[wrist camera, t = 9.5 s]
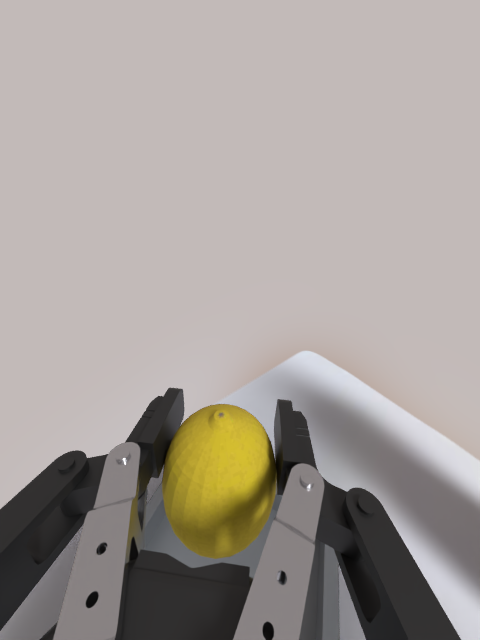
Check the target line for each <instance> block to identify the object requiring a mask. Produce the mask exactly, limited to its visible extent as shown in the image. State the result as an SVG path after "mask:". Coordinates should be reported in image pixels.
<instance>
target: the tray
mask: <svg viewBox="0 0 480 640" xmlns="http://www.w3.org/2000/svg"><path fill="white" fill-rule="evenodd" d="M282 496H283V495H277V483H276V494H275V499H274V502H273V506H272V509H271V512H270V515H269V518H268V520H267V522H266V524H265V525H264V527H263V529H262V530H261V532H260V534H259V535H258V537H257V538H256V539H255V540H254V541H253V542H252V543H251V544H250V545H249V546H248V547H247V548H246V549H244V550H243V551H241V552H239V553H237V554H235V555H233V556H231V557H224V558H218V559H213V558H208V557H203V556H200V555H198V554H196V553H195V552H193V551H191V550H190V549H188V548H187V547H186V546H185V545H184V544H183V543H182V542H181V540H180V539H179V538H178V537H177V536H176V535H175V533H174V531H173V529H172V527H171V524H170V522H169V520H168V518H167V515H166V512H165V507H164V500H163V493H162V483H161V484H160V486H159V487H158V489H157V490H156V492H155V493H154V495H153V496H152V498H151V499H150V501H149V502H148V504H147V505H146V519H145V537H144V540H145V550H148V551H154V552H160V553H167V554H168V555H170V556H172V557H173V558H175V559H177V560H178V561H180V562H182V563H184V564H185V565H187V566H189V567H191V568H197V567H202V566H207V565H212V564H217V563H222V562H223V563H229V564H236V565H242V566H248V567H250V574H249V576H250V577H251V578H253V579H254V576H255V573H256V570H257V567H258V564H259V561H260V558H261V555H262V552H263V549H264V546H265V543H266V540H267V537H268V534H269V531H270V528H271V525H272V523H273V520H274V518H275V517H276V514H277V511H278V508H279V505H280V502H281V499H282ZM299 640H340V637H339V573H338V560H337V557H336V554H335V551H334V549H333V548H331V547H330V546H328V545H326V544H324V543H323V542H321V541H319V540H317V539H315V550H314V556H313V562H312V568H311V573H310V579H309V585H308V591H307V596H306V602H305V608H304V613H303V619H302V625H301V630H300V636H299Z"/></svg>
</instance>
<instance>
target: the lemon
mask: <svg viewBox="0 0 480 640" xmlns="http://www.w3.org/2000/svg"><path fill="white" fill-rule="evenodd" d="M162 493H163V500H164V507H165V512H166V515H167V518H168V520H169V522H170V524H171V527H172V529H173V531H174V533H175V535H176V536H177V537H178V538H179V539H180V540H181V542H182V543H183V544H184V545H185V546H186V547H187V548H188V549H190V550H191V551H193V552H195V553H196V554H198V555H200V556H203V557H208V558H213V559H218V558H224V557H231V556H233V555H235V554H237V553H239V552H241V551H243V550H244V549H246V548H247V547H248V546H249V545H250V544H251V543H252V542H253V541H254V540H255V539H256V538H257V537H258V535H259V534H260V532H261V530H262V529H263V527H264V525H265V524H266V522H267V520H268V518H269V515H270V512H271V509H272V506H273V502H274V499H275V494H276V463H275V458H274V453H273V449H272V445H271V441H270V439H269V437H268V435H267V433H266V431H265V429H264V427H263V426H262V425H261V424H260V422H259V421H258V420H257V419H256V418H255V417H254V416H253V415H251V414H250V413H249V412H247V411H246V410H244V409H242V408H240V407H237V406H233V405H229V404H217V405H210V406H208V407H205V408H202V409H200V410H199V411H197V412H195V413H194V414H192V415H191V416H190V417H189V418H187V419H186V420H185V421H184V422H183V423H182V425H181V426H180V427H179V429H178V430H177V432H176V433H175V435H174V437H173V439H172V441H171V444H170V446H169V449H168V452H167V455H166V458H165V463H164V471H163V480H162Z"/></svg>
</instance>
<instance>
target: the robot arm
mask: <svg viewBox="0 0 480 640" xmlns="http://www.w3.org/2000/svg"><path fill="white" fill-rule="evenodd" d="M183 416H184V397H183V389H178V388H169V389H168V390H167V392H166V393H165V395H164V397H162V396H158V397H157V398H155V399H154V400H153V401H152V402H151V403H150V404H149V406H148V407H147V409H146V411H145V412H144V414H143V415H142V418H140V420H139V422H138V423H137V425H136V426H135V428H134V429H133V431H132V432H131V434H130V436H129V437H128V439H127V440H126V442H125V443H122V444H120V445H118V446H116V447H115V448H114V449H112V450H111V451H110V453H109V454H107V455H103V456H97V457H92V458H87V457H86V454H85V453H84V452H82V451H71V452H68V453H65V454H63V455H62V456H60V457H58V458H57V459H56V460H55V461H54V462H52V463H51V464H50V465H49V466H48V467H47V468H46V469H45V470H44V471H42V472H41V473H40V474H39V475H38V476H37V477H36V478H35V479H34V480H32V482H30V483H29V484H28V485H27V486H26V487H25V488H24V489H23V490H21V491H20V492H19V493H18V494H17V495H16V496H15V497H14V498H12V500H10V501H9V502H8V503H7V504H6V505H5V506H4V507H2V508H1V509H0V631H1V629H2V628H3V627H4V625H5V624H6V623H7V622H8V620H9V619H10V618H11V616H12V615H13V614H14V612H15V611H16V610H17V609H18V607H19V606H20V605H21V603H22V602H23V601H24V600H25V598H26V597H27V596H28V594H29V593H30V592H31V591H32V589H33V588H34V587H35V585H36V584H37V583H38V582H39V580H40V579H41V578H42V576H43V575H44V574H45V573H46V571H47V570H48V569H49V567H50V566H51V565H52V564H53V562H54V561H55V560H56V558H57V557H58V556H59V555H60V553H61V552H62V551H63V549H64V548H65V547H66V546H67V544H68V543H69V542H70V540H71V539H72V538H73V537H74V535H75V534H76V533H77V531H78V530H79V529H80V527H81V526H82V525H83V524H84V525H83V529H82V532H81V536H80V540H79V544H78V547H77V551H76V555H75V559H74V563H73V566H72V570H71V574H70V578H69V581H68V585H67V589H66V593H65V596H64V600H63V604H62V608H61V612H60V615H59V619H58V622H57V623H56V624H55V625H54V626H53V627H52V628H51V629H50V630H49V631H48V632H47V633H46V634H45V635H44V636H43V637H42V638H41V639H40V640H299V636H300V630H301V625H302V619H303V613H304V608H305V602H306V596H307V591H308V585H309V579H310V573H311V568H312V562H313V556H314V550H315V539H317V540H319V541H321V542H323V543H324V544H326V545H328V546H330V547H331V548H333V549H334V551H335V554H336V557H337V560H338V562H339V565H340V568H341V571H342V574H343V576H344V579H345V582H346V585H347V587H348V590H349V593H350V596H351V599H352V601H353V604H354V607H355V610H356V612H357V615H358V618H359V621H360V624H361V626H362V629H363V632H364V635H365V637H366V640H461V639H460V637H459V635H458V634H457V632H456V630H455V629H454V627H453V625H452V624H451V622H450V620H449V618H448V617H447V615H446V613H445V612H444V610H443V608H442V606H441V605H440V603H439V601H438V600H437V598H436V596H435V595H434V593H433V591H432V589H431V588H430V586H429V584H428V583H427V581H426V579H425V577H424V576H423V574H422V572H421V571H420V569H419V567H418V566H417V564H416V562H415V560H414V559H413V557H412V555H411V554H410V552H409V550H408V548H407V547H406V545H405V543H404V542H403V540H402V538H401V537H400V535H399V533H398V531H397V530H396V528H395V526H394V525H393V523H392V521H391V520H390V518H389V516H388V514H387V513H386V511H385V509H384V508H383V506H382V504H381V503H380V501H379V500H378V499H377V498H376V497H375V496H374V495H373V494H371V493H370V492H368V491H367V490H364V489H362V488H352V489H350V490H349V491H348V492H346V491H344V490H342V489H340V488H338V487H335V486H333V485H332V484H330V483H328V482H327V481H326V480H325V479H324V478H323V477H322V476H321V474H320V473H319V472H318V470H317V467H316V463H315V459H314V454H313V449H312V445H311V440H310V435H309V431H308V426H307V421H306V419H305V417H304V416H303V414H302V413H301V412H299V411H293V408H292V402H291V401H289V400H280V399H278V400H277V407H276V414H275V422H274V438H275V459H276V480H277V495H283V496H282V499H281V502H280V505H279V508H278V511H277V514H276V517H275V518H274V520H273V523H272V525H271V528H270V531H269V534H268V537H267V540H266V543H265V546H264V549H263V552H262V555H261V558H260V561H259V564H258V567H257V570H256V573H255V576H254V579H253V578H251V577H250V576H249V574H250V567H248V566H242V565H236V564H229V563H223V562H222V563H217V564H212V565H207V566H202V567H197V568H191V567H189V566H187V565H185V564H184V563H182V562H180V561H178V560H177V559H175V558H173V557H172V556H170V555H168V554H167V553H160V552H154V551H148V550H145V540H144V537H145V519H146V503H147V485H148V483H149V481H150V478H151V477H154V478H159V475H160V473H161V470H162V468H163V466H164V463H165V458H166V455H167V452H168V449H169V446H170V444H171V441H172V439H173V437H174V435H175V433H176V432H177V430H178V429H179V427H180V425H181V422H182V420H183Z"/></svg>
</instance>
